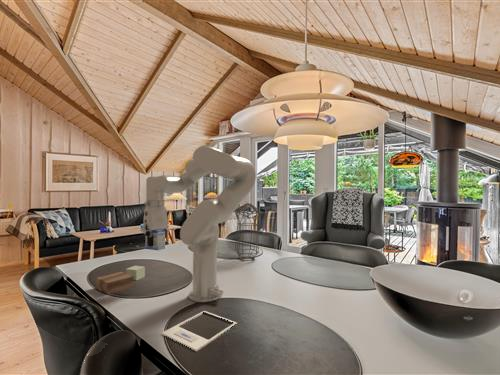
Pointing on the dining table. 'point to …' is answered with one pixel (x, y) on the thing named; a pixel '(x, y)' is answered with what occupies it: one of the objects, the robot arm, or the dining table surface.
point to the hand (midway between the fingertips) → (155, 244)
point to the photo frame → (192, 334)
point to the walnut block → (114, 282)
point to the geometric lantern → (247, 225)
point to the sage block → (136, 272)
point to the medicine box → (157, 240)
